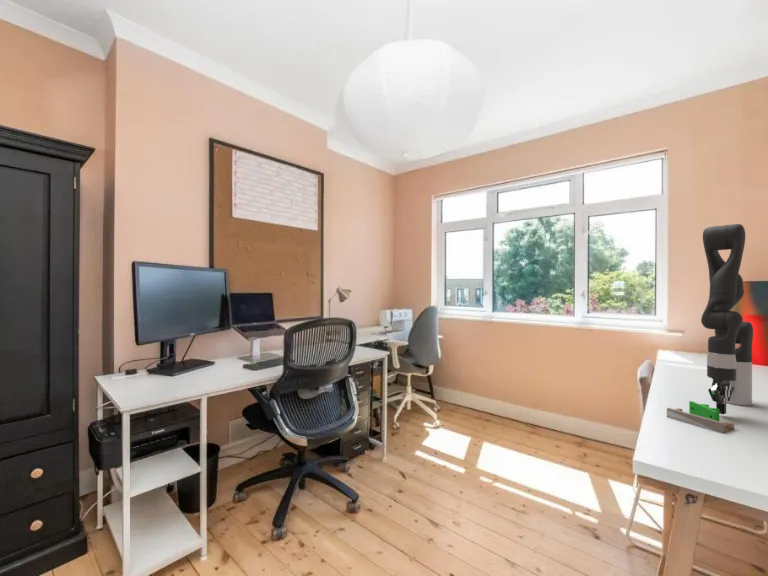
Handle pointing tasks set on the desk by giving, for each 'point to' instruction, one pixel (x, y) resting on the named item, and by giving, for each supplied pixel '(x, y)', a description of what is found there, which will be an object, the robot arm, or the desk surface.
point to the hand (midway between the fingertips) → (721, 413)
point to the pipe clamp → (703, 411)
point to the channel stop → (699, 420)
